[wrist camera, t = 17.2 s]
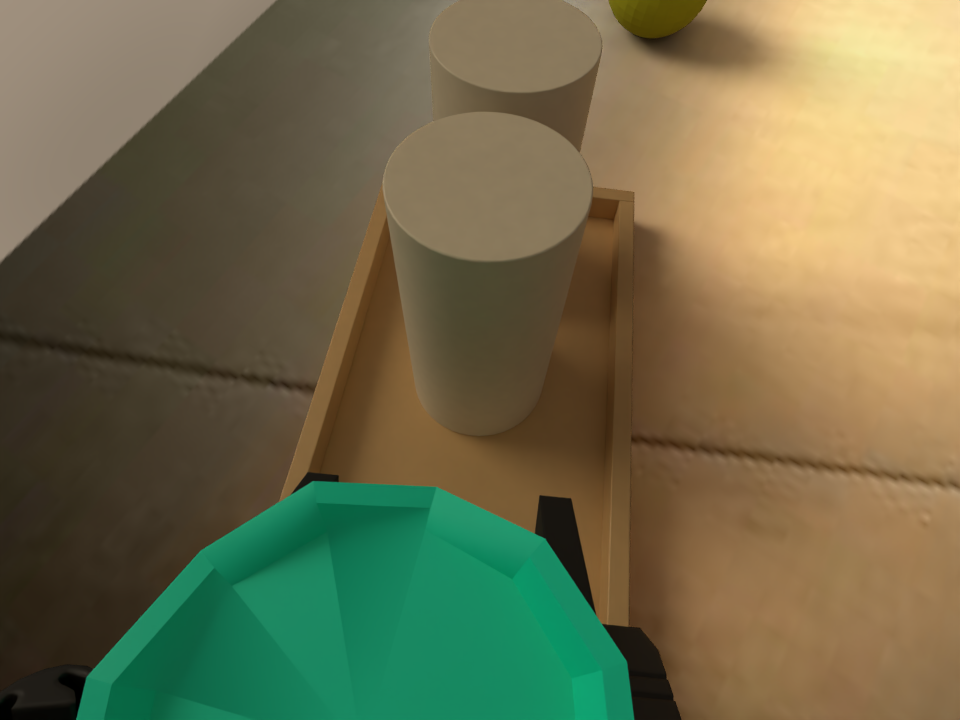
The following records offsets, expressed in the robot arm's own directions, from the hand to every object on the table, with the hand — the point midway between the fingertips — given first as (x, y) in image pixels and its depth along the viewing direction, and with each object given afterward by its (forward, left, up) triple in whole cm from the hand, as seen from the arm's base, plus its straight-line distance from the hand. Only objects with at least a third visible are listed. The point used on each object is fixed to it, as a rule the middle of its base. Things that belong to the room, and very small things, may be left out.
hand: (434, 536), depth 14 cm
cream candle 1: (-16, 0, -9) cm, 19 cm away
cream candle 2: (-9, 0, -9) cm, 13 cm away
